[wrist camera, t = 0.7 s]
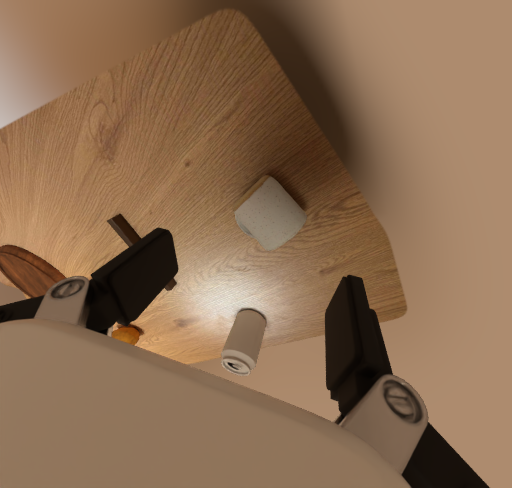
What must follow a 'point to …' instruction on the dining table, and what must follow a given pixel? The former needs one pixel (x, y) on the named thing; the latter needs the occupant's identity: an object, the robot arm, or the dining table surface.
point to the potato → (126, 335)
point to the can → (243, 343)
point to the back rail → (130, 237)
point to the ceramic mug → (269, 214)
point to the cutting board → (28, 271)
